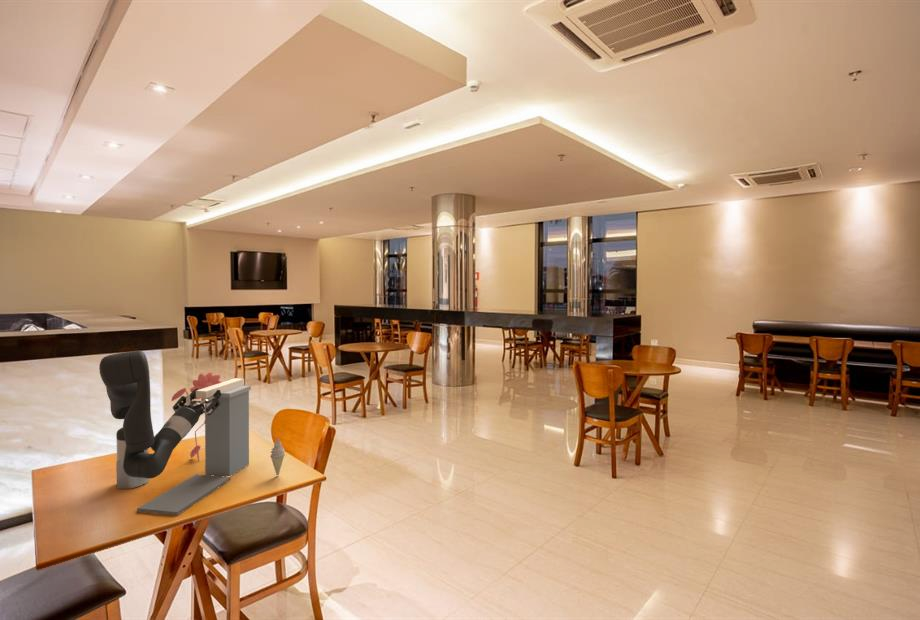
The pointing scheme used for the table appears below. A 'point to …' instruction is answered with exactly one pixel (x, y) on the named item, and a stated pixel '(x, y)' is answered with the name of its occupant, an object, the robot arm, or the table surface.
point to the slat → (219, 388)
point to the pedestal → (228, 433)
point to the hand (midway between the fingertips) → (208, 390)
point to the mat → (183, 495)
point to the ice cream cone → (277, 456)
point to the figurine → (200, 384)
